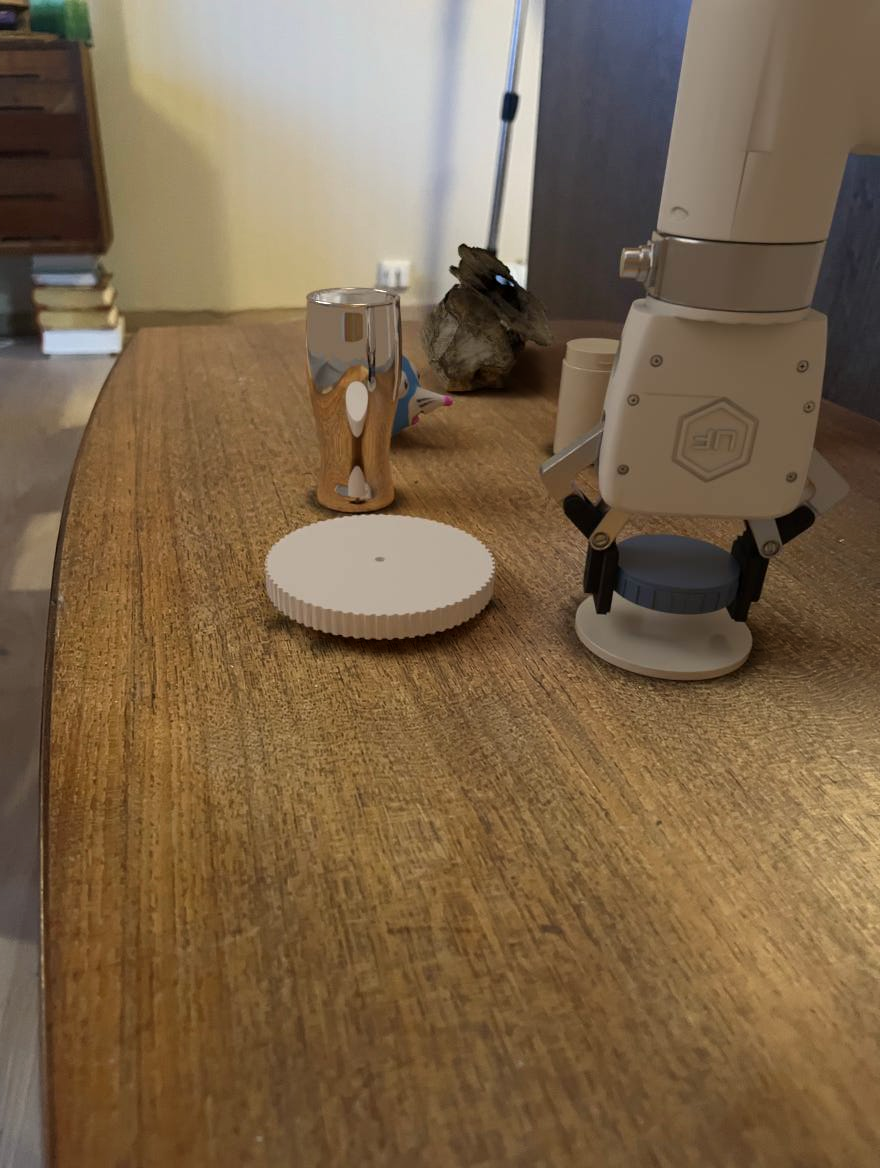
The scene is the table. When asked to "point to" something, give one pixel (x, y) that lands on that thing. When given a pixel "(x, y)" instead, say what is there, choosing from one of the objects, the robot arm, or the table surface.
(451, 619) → the plastic lid
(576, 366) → the jar
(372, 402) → the beer glass
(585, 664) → the table surface
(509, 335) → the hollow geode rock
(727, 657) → the coaster
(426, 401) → the blue toy animal
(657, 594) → the lid
